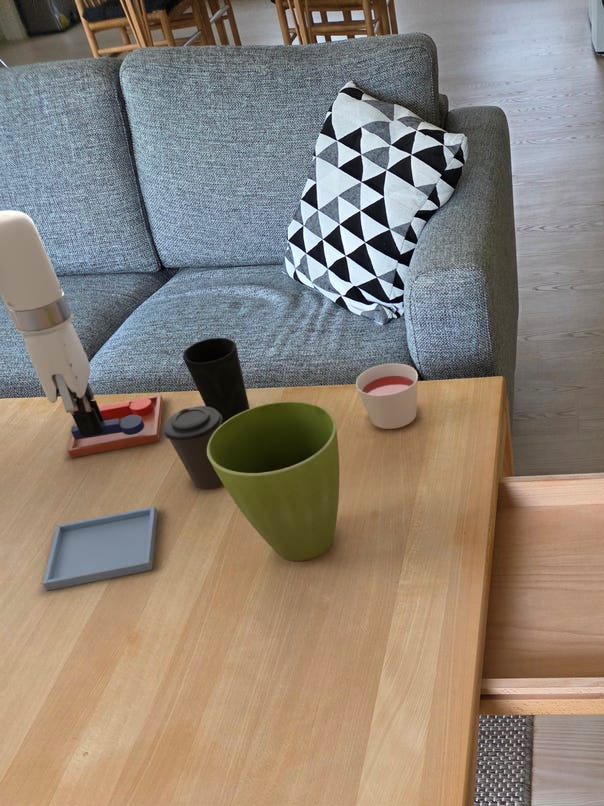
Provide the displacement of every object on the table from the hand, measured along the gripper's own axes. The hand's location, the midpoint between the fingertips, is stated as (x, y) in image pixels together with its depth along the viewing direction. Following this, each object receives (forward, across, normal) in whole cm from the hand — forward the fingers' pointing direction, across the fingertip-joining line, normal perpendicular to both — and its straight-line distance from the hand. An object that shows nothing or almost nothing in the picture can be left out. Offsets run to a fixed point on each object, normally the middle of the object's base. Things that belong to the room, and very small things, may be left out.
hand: (93, 429), depth 131 cm
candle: (+2, +8, +44) cm, 45 cm away
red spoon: (+2, -7, +2) cm, 8 cm away
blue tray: (+3, +27, +4) cm, 28 cm away
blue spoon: (+1, 0, +2) cm, 2 cm away
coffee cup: (+2, +15, +18) cm, 23 cm away
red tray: (+3, -4, +2) cm, 5 cm away
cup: (+2, +1, +20) cm, 21 cm away
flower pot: (+2, +34, +30) cm, 45 cm away
